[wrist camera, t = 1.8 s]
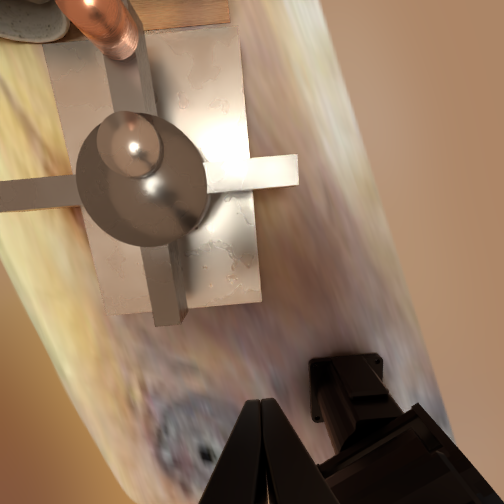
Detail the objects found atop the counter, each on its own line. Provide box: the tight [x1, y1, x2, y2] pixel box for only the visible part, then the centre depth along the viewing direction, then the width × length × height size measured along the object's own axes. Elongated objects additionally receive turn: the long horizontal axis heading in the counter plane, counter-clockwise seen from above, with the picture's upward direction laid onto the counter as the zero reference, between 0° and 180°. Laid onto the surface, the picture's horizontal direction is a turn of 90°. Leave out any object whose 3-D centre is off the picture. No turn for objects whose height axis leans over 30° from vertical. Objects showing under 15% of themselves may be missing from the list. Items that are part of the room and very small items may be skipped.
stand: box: [42, 0, 262, 316], centre depth 15 cm, size 24×12×5 cm, turn 5°
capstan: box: [0, 0, 299, 327], centre depth 12 cm, size 17×17×4 cm
